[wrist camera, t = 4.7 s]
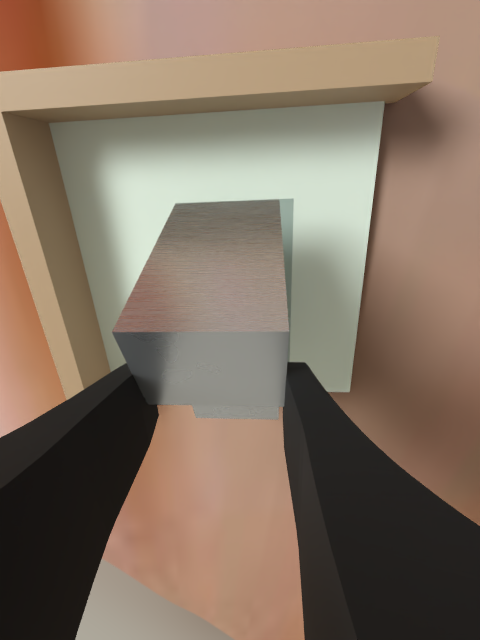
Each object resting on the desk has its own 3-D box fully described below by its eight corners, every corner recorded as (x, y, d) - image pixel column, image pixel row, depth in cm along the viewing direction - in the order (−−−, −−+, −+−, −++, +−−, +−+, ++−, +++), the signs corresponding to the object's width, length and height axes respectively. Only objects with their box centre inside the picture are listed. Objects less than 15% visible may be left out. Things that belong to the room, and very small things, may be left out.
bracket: (276, 355, 18) (280, 486, 13) (207, 355, 18) (184, 482, 13) (279, 199, 12) (288, 331, 7) (175, 203, 12) (111, 332, 7)
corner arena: (398, 69, 13) (439, 36, 10) (357, 386, 20) (374, 426, 17) (24, 96, 15) (-41, 75, 12) (101, 383, 22) (73, 419, 18)
